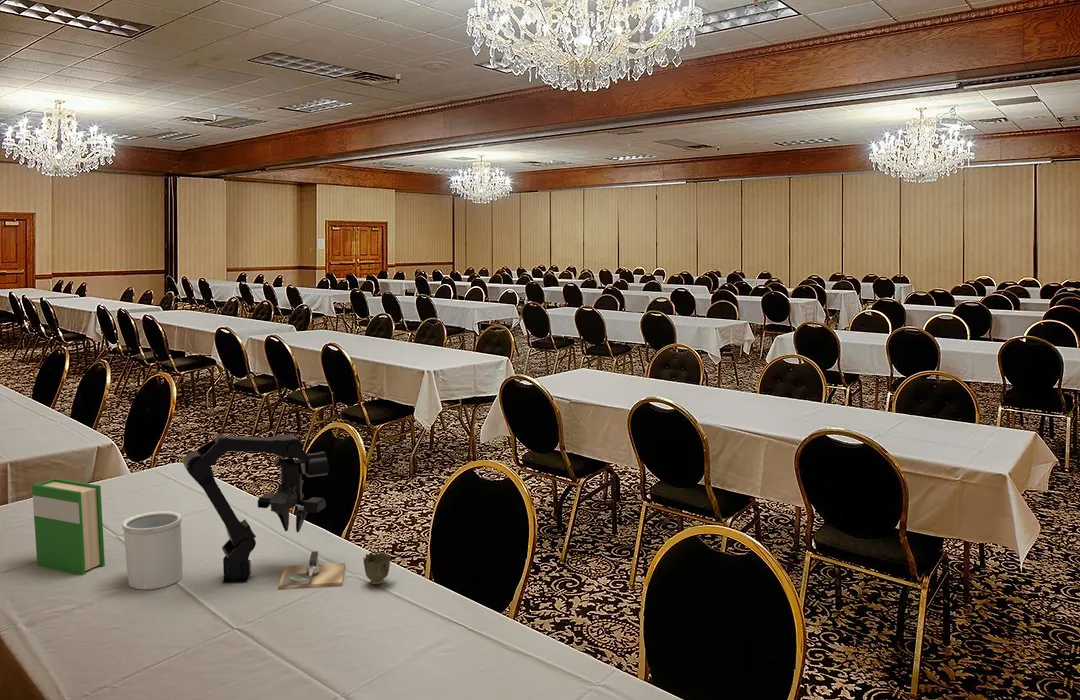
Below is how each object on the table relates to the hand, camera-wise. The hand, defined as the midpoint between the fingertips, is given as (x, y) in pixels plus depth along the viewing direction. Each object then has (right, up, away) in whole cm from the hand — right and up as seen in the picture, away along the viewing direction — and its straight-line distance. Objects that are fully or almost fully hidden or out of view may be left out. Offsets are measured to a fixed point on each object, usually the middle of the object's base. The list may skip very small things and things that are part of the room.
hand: (292, 531), depth 239 cm
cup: (+26, -13, -8) cm, 31 cm away
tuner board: (+7, -12, -5) cm, 15 cm away
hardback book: (-64, -10, 0) cm, 65 cm away
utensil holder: (-36, -12, -9) cm, 39 cm away
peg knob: (+7, -10, -5) cm, 14 cm away
